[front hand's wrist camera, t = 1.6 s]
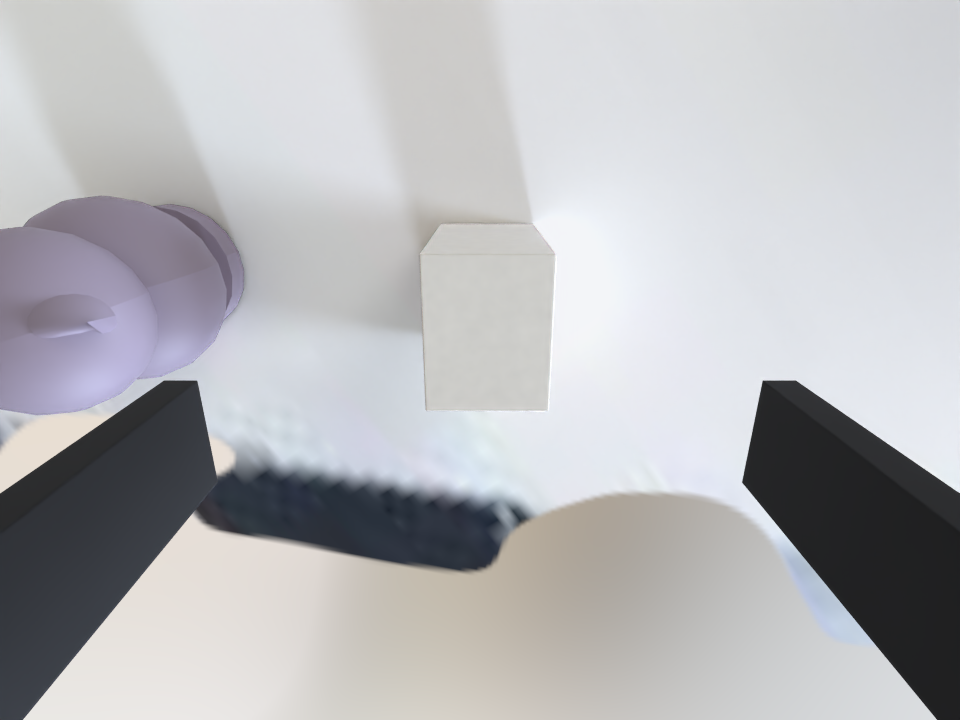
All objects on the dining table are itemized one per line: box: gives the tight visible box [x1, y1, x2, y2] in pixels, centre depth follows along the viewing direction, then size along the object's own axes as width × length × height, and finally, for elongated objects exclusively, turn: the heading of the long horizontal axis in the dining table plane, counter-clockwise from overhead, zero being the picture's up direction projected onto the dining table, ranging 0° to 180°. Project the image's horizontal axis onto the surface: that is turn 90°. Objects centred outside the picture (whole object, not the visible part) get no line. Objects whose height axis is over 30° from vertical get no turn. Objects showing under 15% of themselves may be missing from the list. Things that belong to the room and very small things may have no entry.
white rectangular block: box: [419, 224, 557, 411], centre depth 23 cm, size 5×6×9 cm
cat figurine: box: [0, 196, 244, 415], centre depth 21 cm, size 8×8×12 cm
